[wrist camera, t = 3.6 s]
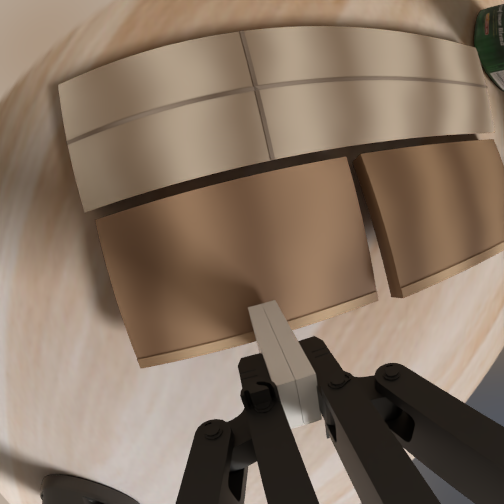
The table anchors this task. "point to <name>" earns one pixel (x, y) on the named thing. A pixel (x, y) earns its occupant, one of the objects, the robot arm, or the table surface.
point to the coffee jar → (491, 42)
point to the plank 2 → (434, 209)
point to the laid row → (262, 103)
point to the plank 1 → (237, 259)
